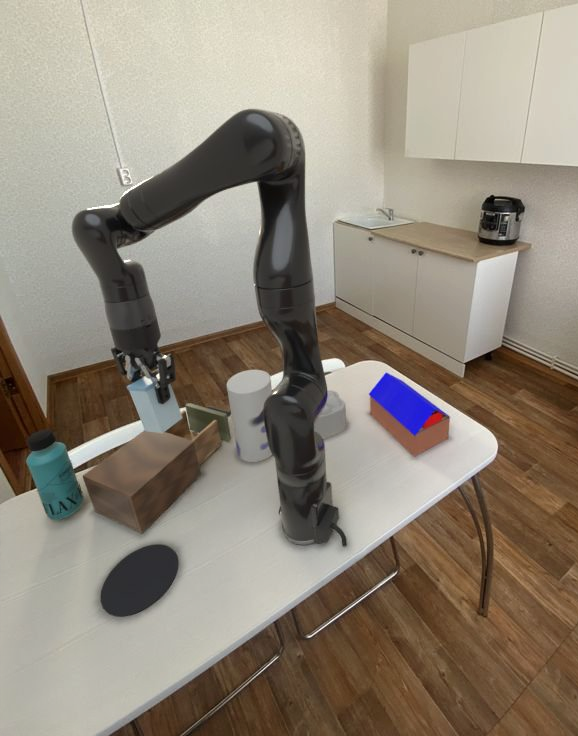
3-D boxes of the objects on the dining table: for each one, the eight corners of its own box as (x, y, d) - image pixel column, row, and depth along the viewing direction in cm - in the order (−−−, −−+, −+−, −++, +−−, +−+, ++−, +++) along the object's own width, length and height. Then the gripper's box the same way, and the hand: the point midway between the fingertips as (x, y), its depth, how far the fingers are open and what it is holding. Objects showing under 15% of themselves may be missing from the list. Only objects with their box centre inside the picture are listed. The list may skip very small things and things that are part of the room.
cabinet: (157, 458, 94) (149, 426, 90) (201, 475, 89) (194, 441, 85) (94, 511, 80) (82, 475, 77) (142, 534, 75) (130, 496, 72)
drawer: (205, 417, 107) (200, 393, 104) (241, 428, 102) (238, 404, 100) (147, 466, 90) (140, 439, 88) (187, 481, 86) (181, 453, 83)
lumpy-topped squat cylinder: (350, 430, 102) (349, 403, 99) (303, 446, 97) (301, 418, 94) (335, 408, 111) (333, 383, 108) (291, 422, 106) (289, 395, 103)
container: (268, 465, 91) (259, 394, 84) (229, 459, 93) (218, 390, 86) (284, 436, 100) (277, 371, 93) (249, 432, 102) (239, 367, 95)
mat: (192, 558, 70) (192, 557, 70) (135, 629, 60) (134, 628, 60) (145, 536, 75) (145, 535, 75) (84, 599, 64) (83, 597, 64)
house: (402, 399, 115) (402, 366, 110) (449, 439, 99) (453, 401, 95) (368, 414, 109) (368, 378, 105) (414, 458, 93) (415, 418, 89)
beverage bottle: (42, 530, 76) (9, 450, 69) (57, 502, 82) (28, 427, 75) (79, 521, 78) (50, 443, 71) (92, 495, 84) (66, 421, 77)
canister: (183, 417, 77) (167, 373, 75) (162, 434, 73) (144, 388, 70) (166, 415, 80) (150, 372, 77) (144, 431, 75) (126, 386, 72)
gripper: (86, 321, 68) (109, 400, 74) (142, 333, 63) (163, 418, 69) (124, 306, 75) (143, 380, 81) (179, 316, 69) (195, 395, 75)
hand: (152, 397), depth 75 cm, fingers closed on canister, 5 cm apart
